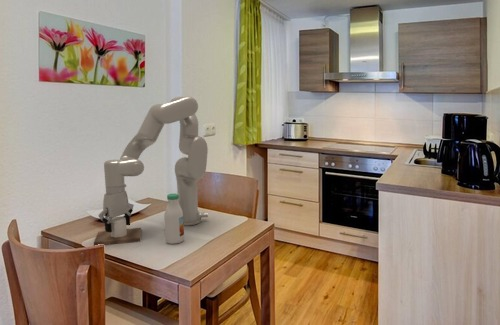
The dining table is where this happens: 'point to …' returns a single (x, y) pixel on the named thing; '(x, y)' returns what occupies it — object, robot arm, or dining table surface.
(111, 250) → the dining table surface
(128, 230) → the post base
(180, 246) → the dining table surface
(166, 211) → the milk bottle
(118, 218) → the pale grey short cylinder
